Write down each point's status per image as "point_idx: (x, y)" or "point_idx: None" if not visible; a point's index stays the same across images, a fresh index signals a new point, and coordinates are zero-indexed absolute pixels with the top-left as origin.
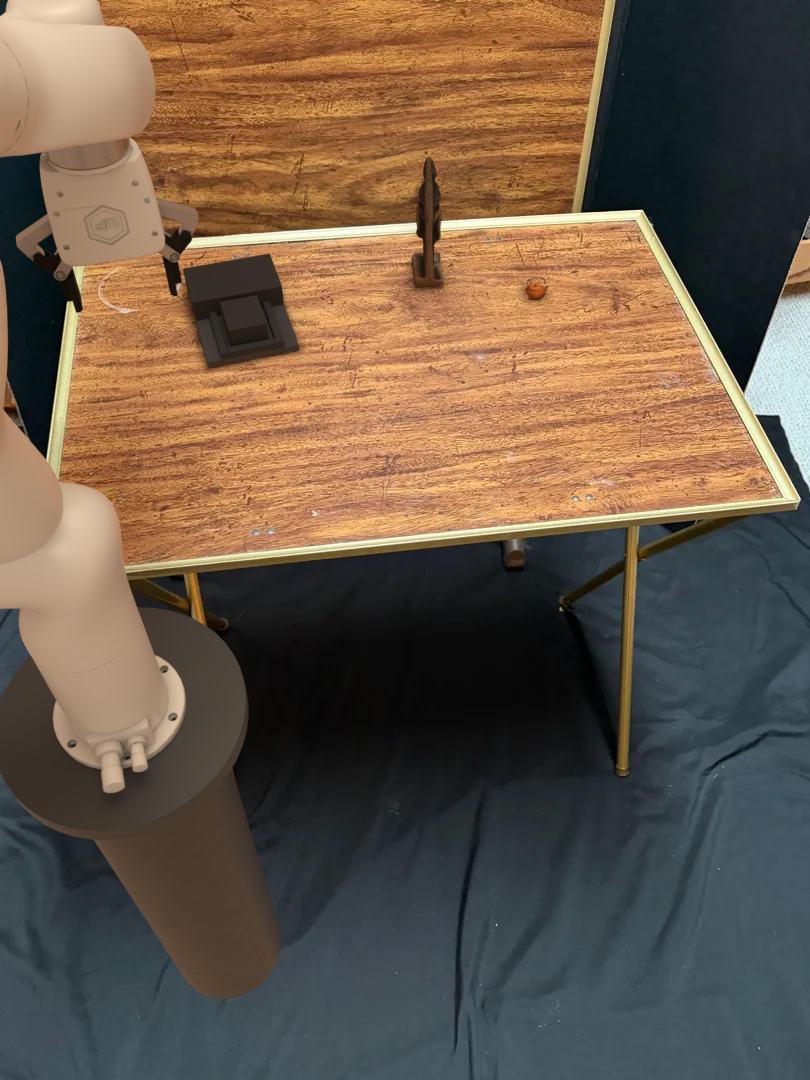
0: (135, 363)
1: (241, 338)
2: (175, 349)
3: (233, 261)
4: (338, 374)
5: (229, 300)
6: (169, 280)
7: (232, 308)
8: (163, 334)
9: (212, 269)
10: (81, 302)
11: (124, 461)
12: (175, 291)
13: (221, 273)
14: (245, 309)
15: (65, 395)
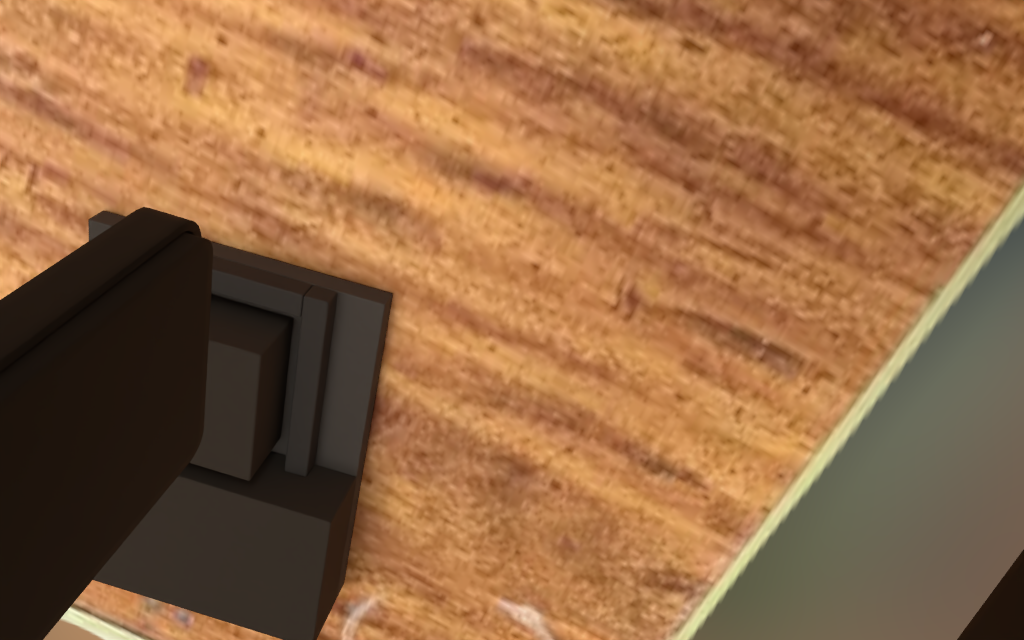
0: (590, 431)
1: (242, 323)
2: (456, 417)
3: (164, 595)
4: (6, 36)
5: (219, 470)
6: (83, 317)
7: (219, 435)
8: (465, 487)
9: (231, 601)
10: (1020, 588)
11: (843, 34)
12: (131, 229)
13: (210, 575)
14: None
15: (849, 428)
